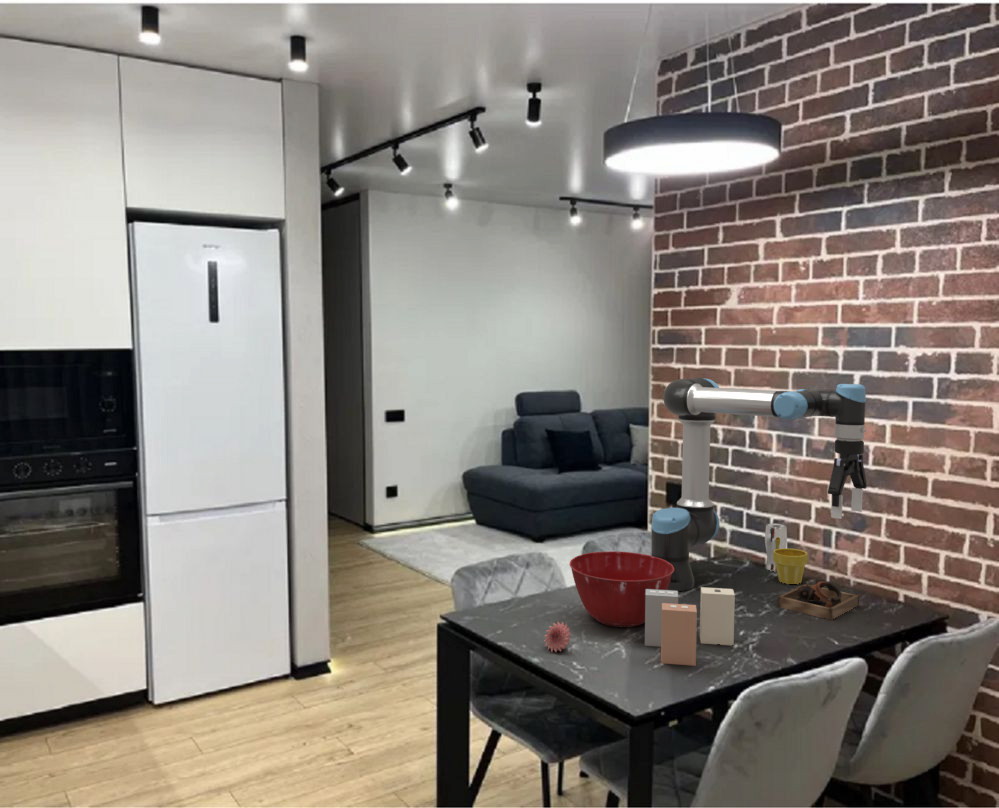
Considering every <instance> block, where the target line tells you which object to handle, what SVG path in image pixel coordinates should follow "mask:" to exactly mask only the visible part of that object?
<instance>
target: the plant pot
mask: <svg viewBox="0 0 999 808" xmlns="http://www.w3.org/2000/svg"><path fill="white" fill-rule="evenodd" d="M773 561H774V562H775V563H776V568H777V572H776V573H777V577H778V581H779V583H781V582H782V583H781V584H784V583H786V584H785V585H789V584H797V585H800V584H801V583H802V580H803V576H804V572H805V566H806V565H807V564H808V552H807V551H805V550H803V549H797V548H788V547H786V548H781V549H776V550H774V551H773ZM799 583H800V584H799Z"/></svg>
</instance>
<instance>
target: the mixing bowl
mask: <svg viewBox="0 0 999 808" xmlns="http://www.w3.org/2000/svg"><path fill="white" fill-rule="evenodd" d="M569 567H570V569H571V573H572V577H573V581H574V584H575V587H576V591H577V593H578V596H579V599H580V600H581V603H582V605H583V607H584V609H585V610H586V612H587V614H589V615H590V617H592V618H594V619H595V620H597V621H598V622H599V623H601V624H603V625H606V626H611V627H618V628H633V627H637V626H640V625H642V624H645V597H646V589H654V590H667V589H668V586H669V583H670V580H671V576H672V573H673V572H674V567H673V565H672V564H670V563H669V562H667V561H665V560H663V559H660V558H657V557H654V556H651V555H649V554H645V553H644V554H643V553H637V552H630V551H617V550H616V551H613V550H612V551H596V552H588V553H583V554H579V555H577V556H574V557H573V558H572V559H570V561H569Z"/></svg>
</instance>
